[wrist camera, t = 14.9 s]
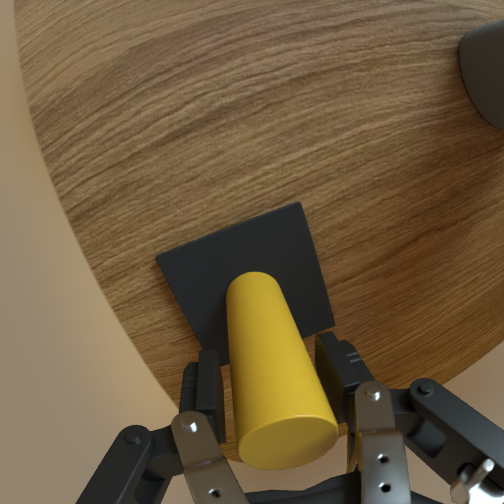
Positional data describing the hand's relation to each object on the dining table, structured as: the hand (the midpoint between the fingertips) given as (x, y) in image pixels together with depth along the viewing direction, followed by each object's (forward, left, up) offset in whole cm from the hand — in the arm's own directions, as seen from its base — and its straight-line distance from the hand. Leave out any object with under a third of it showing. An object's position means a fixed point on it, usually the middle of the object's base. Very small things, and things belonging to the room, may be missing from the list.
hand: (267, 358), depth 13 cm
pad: (0, 0, -6) cm, 6 cm away
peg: (0, 0, -6) cm, 6 cm away
